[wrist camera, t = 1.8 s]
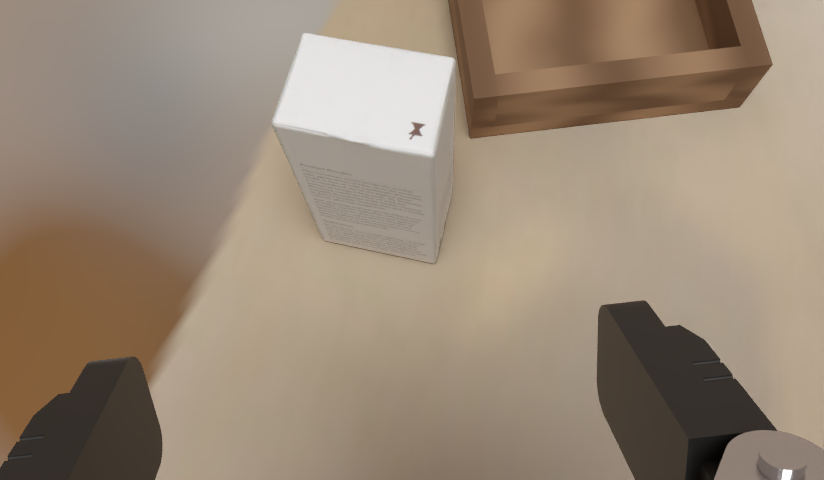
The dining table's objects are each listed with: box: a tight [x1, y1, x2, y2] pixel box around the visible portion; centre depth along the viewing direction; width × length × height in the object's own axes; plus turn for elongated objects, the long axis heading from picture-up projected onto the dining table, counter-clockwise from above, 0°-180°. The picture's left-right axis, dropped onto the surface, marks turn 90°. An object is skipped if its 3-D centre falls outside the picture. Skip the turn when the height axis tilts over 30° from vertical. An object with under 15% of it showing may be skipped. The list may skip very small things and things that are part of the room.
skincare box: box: [271, 33, 456, 264], centre depth 31 cm, size 6×4×12 cm
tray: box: [448, 0, 773, 138], centre depth 39 cm, size 14×12×4 cm
